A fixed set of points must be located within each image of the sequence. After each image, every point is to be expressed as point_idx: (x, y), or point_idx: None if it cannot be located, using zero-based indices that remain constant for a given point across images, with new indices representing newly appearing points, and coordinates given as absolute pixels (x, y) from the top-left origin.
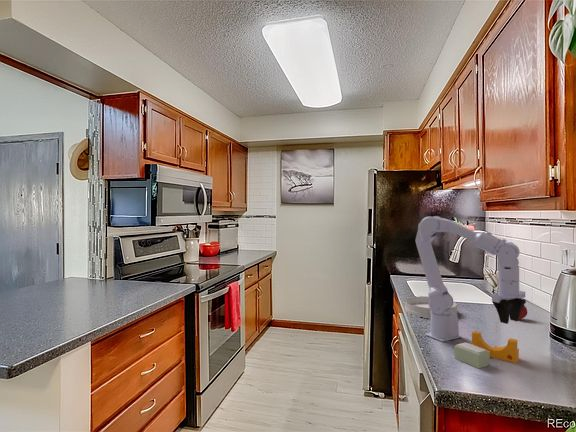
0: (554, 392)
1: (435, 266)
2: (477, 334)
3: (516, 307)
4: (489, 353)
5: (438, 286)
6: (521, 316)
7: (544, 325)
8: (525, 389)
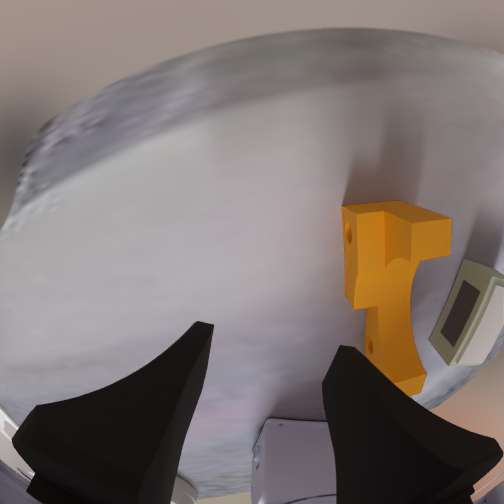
0: (494, 78)
1: None
2: (424, 375)
3: (177, 429)
4: (488, 273)
5: None
6: None
7: None
8: None
